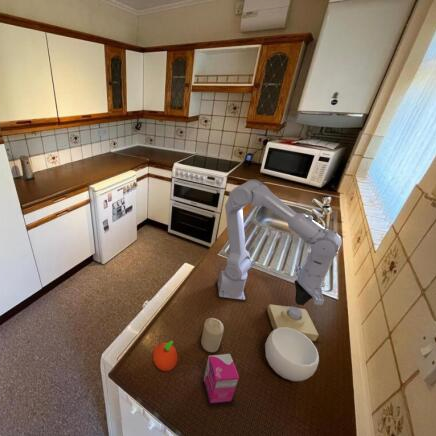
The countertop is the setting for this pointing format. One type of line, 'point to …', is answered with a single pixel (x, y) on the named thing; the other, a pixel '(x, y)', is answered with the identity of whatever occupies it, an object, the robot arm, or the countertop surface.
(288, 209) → the robot arm
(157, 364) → the clementine
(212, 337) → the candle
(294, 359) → the white bowl
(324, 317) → the countertop surface
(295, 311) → the grey pebble
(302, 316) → the square plate with button
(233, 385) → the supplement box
